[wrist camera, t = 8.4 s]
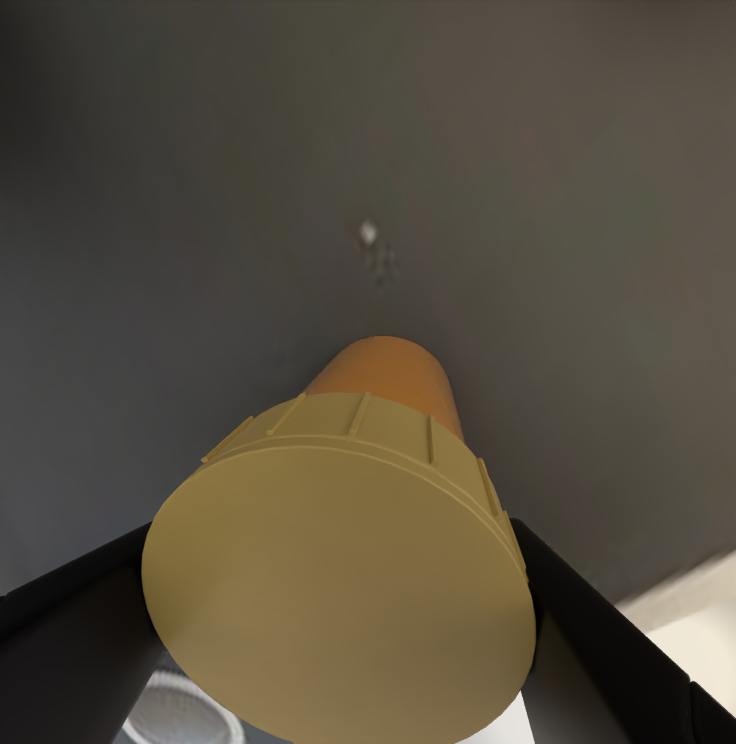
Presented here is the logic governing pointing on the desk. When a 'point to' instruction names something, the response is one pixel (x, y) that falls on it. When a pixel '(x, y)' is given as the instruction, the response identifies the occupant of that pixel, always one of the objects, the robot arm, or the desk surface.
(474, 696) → the honey lid
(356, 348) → the honey jar
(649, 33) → the desk surface
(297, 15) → the desk surface
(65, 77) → the desk surface
